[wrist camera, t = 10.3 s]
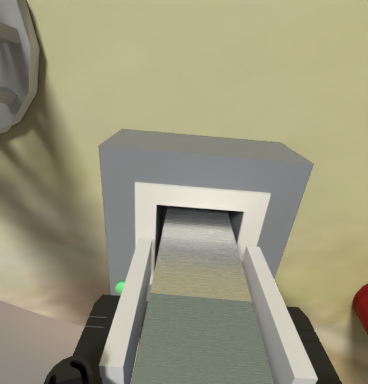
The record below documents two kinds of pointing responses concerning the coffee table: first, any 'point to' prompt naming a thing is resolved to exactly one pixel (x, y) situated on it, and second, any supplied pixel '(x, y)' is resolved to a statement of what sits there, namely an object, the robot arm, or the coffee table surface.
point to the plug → (200, 308)
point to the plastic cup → (362, 306)
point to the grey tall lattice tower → (17, 62)
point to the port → (197, 191)
